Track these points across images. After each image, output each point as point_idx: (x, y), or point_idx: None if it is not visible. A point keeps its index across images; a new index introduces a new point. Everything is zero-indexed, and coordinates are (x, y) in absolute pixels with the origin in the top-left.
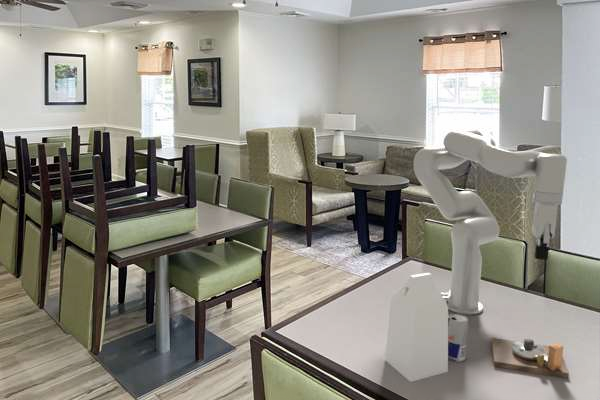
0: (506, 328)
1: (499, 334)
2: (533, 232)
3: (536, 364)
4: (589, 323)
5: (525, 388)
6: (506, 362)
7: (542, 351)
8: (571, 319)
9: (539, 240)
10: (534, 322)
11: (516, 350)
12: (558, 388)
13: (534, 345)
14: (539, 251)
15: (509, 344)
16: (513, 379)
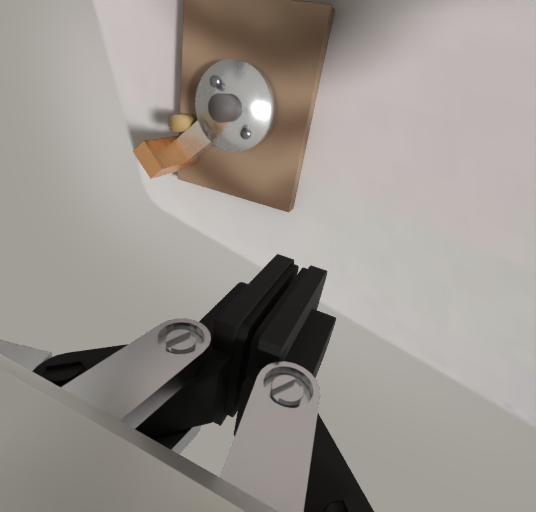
0: (451, 98)
1: (399, 56)
2: (34, 436)
3: (195, 114)
4: (476, 380)
5: (127, 61)
6: (186, 28)
7: (221, 143)
8: (513, 351)
9: (94, 369)
10: (500, 223)
11: (212, 65)
12: (147, 138)
13: (243, 131)
14: (225, 305)
15: (288, 64)
16: (151, 40)
